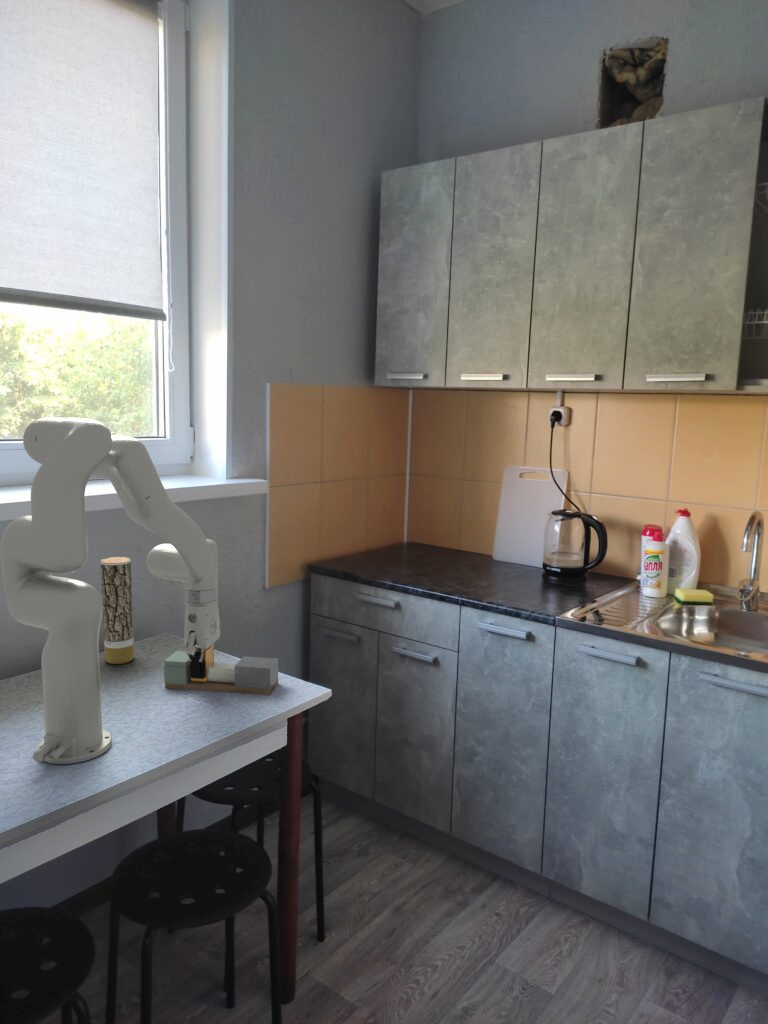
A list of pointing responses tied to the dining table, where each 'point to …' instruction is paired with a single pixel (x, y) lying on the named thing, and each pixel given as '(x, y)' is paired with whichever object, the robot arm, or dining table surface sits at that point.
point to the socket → (176, 668)
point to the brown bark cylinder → (117, 609)
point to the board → (220, 687)
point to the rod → (215, 669)
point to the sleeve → (256, 672)
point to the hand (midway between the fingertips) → (202, 672)
